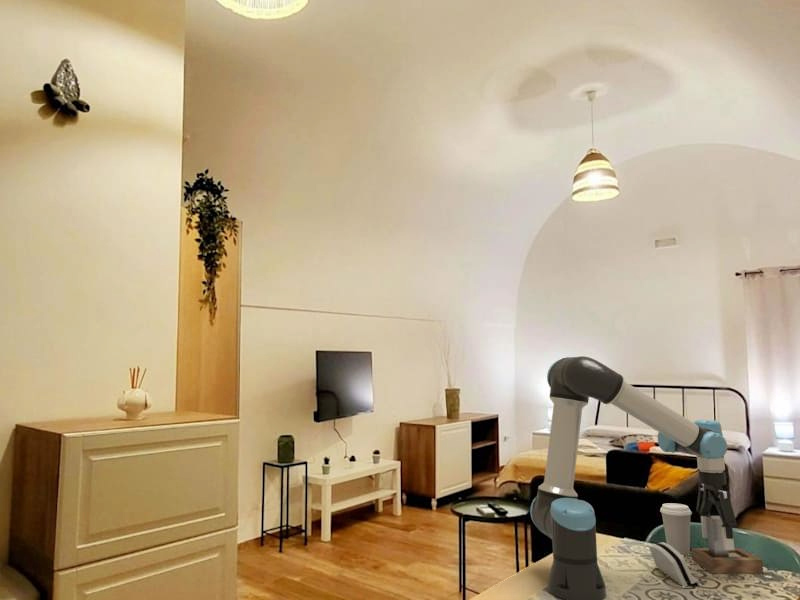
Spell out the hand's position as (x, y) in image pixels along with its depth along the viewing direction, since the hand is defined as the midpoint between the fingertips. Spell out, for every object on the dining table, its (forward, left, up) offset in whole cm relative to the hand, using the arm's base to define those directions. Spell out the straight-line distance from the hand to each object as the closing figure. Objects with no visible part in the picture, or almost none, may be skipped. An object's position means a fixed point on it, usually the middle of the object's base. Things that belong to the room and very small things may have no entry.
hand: (717, 543), depth 173 cm
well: (+2, 0, -7) cm, 7 cm away
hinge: (-18, -8, -7) cm, 21 cm away
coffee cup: (-6, +14, -7) cm, 17 cm away
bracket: (+2, 0, -6) cm, 7 cm away
